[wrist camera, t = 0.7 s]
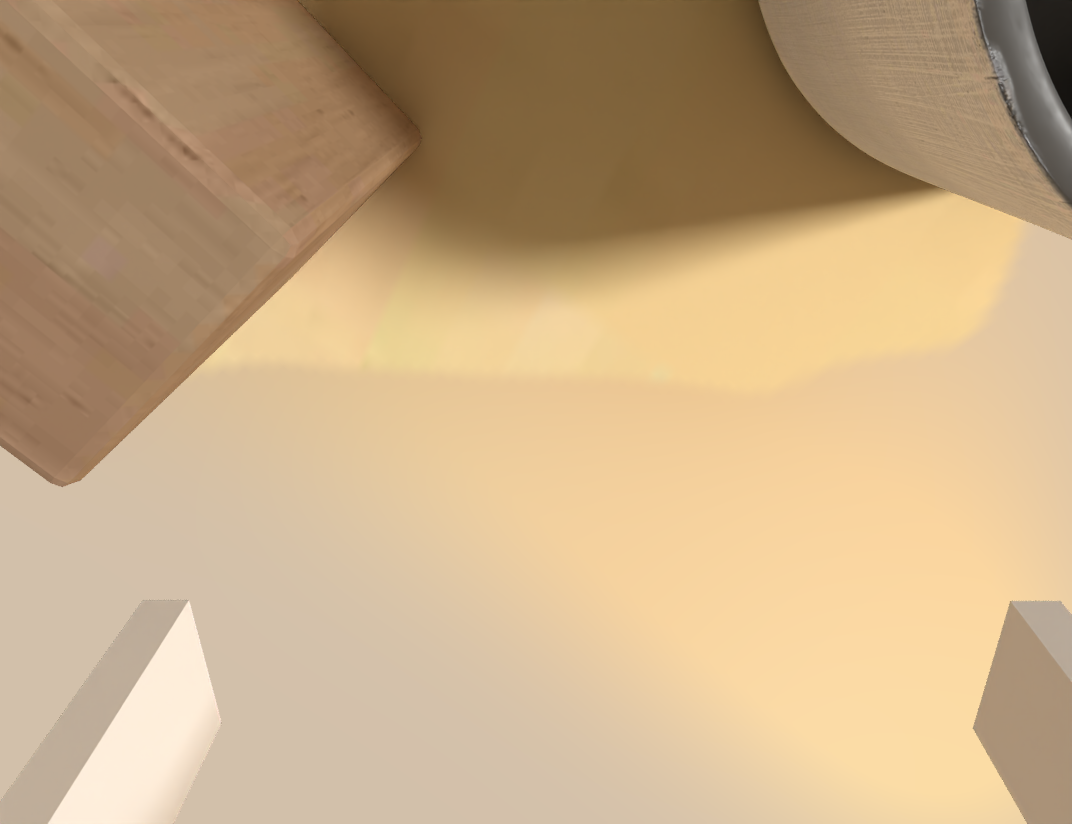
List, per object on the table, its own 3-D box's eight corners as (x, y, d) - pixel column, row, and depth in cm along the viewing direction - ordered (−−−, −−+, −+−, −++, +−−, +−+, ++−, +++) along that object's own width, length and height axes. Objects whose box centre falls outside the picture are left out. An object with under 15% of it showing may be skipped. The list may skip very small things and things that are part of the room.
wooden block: (286, 282, 40) (60, 500, 22) (114, 124, 37) (-314, 223, 19) (428, 136, 37) (301, 249, 19) (253, -50, 34) (-102, -133, 16)
